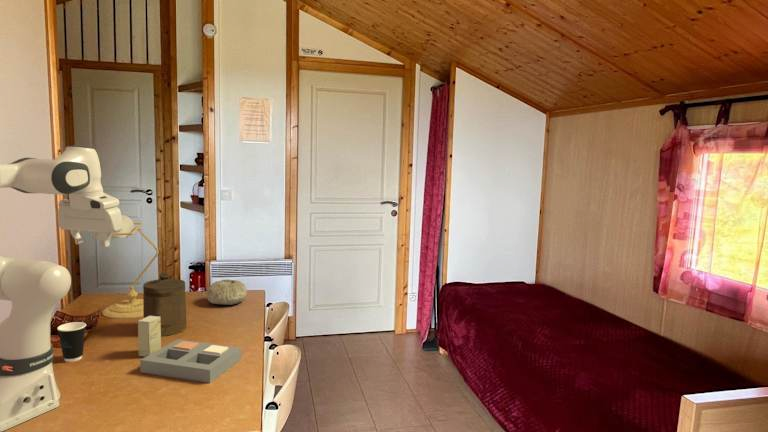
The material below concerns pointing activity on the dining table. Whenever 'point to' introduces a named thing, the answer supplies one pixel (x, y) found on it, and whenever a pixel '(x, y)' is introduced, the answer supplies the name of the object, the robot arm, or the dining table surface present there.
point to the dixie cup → (72, 340)
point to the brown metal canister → (166, 303)
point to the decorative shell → (226, 292)
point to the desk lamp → (132, 305)
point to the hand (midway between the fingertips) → (92, 245)
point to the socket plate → (191, 360)
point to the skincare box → (149, 335)
